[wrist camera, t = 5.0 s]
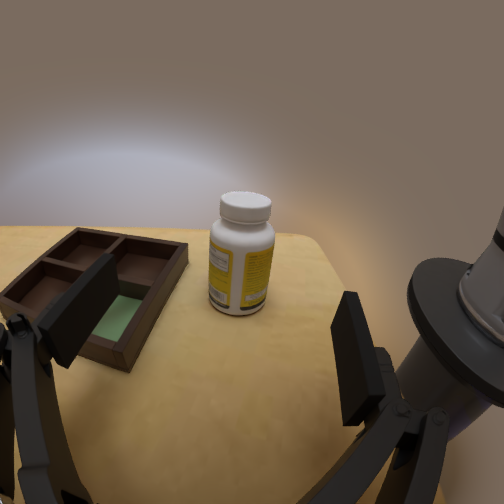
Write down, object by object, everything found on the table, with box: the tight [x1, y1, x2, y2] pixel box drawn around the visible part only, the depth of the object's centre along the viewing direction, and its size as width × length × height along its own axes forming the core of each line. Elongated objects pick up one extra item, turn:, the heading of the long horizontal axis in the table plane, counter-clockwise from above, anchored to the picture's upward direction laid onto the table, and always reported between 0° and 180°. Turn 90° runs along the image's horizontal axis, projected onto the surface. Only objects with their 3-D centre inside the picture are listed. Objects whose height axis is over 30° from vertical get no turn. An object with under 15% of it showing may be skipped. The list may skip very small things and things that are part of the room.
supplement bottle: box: [209, 191, 275, 315], centre depth 24 cm, size 5×5×10 cm
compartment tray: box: [0, 227, 188, 373], centre depth 23 cm, size 16×16×2 cm
